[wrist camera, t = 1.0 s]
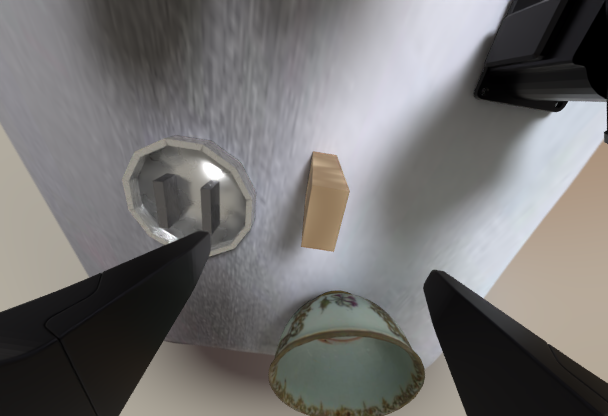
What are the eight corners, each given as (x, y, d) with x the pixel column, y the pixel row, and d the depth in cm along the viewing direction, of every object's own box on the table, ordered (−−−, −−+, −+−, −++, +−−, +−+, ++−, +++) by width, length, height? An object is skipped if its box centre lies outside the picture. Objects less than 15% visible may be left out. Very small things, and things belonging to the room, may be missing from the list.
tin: (259, 148, 19) (252, 155, 17) (252, 252, 24) (246, 269, 22) (126, 127, 19) (101, 131, 17) (147, 237, 24) (129, 252, 21)
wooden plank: (336, 155, 19) (349, 191, 12) (327, 198, 21) (333, 251, 14) (313, 151, 19) (312, 185, 12) (305, 194, 21) (301, 246, 14)
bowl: (290, 347, 31) (282, 423, 24) (269, 270, 25) (252, 340, 18) (394, 342, 30) (419, 421, 22) (398, 259, 24) (434, 330, 17)
